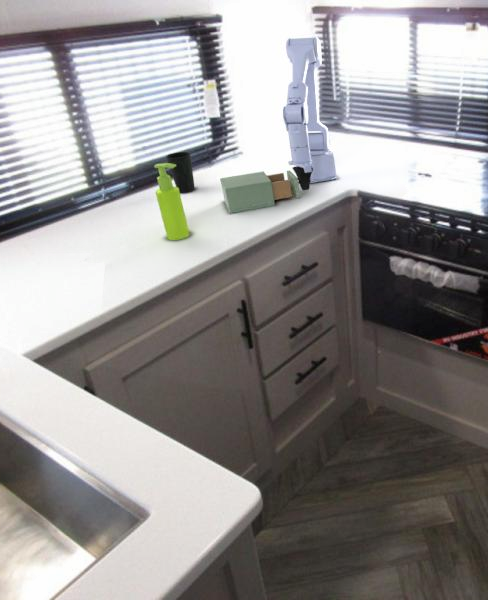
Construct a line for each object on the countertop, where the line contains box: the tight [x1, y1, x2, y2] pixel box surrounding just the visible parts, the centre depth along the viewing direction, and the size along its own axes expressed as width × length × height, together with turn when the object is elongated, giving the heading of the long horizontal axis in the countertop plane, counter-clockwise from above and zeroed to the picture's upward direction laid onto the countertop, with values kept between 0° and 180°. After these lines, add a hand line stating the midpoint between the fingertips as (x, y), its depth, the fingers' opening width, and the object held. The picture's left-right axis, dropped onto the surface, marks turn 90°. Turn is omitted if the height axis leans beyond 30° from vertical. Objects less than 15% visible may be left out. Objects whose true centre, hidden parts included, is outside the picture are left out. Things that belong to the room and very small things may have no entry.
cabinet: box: [219, 170, 276, 214], centre depth 176 cm, size 14×12×8 cm
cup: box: [165, 151, 196, 194], centre depth 190 cm, size 8×8×12 cm
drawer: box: [266, 170, 311, 201], centre depth 179 cm, size 17×10×6 cm, turn 111°
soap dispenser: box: [153, 162, 190, 241], centre depth 152 cm, size 6×7×20 cm
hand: (305, 189), depth 178 cm, fingers closed, pressing on drawer
